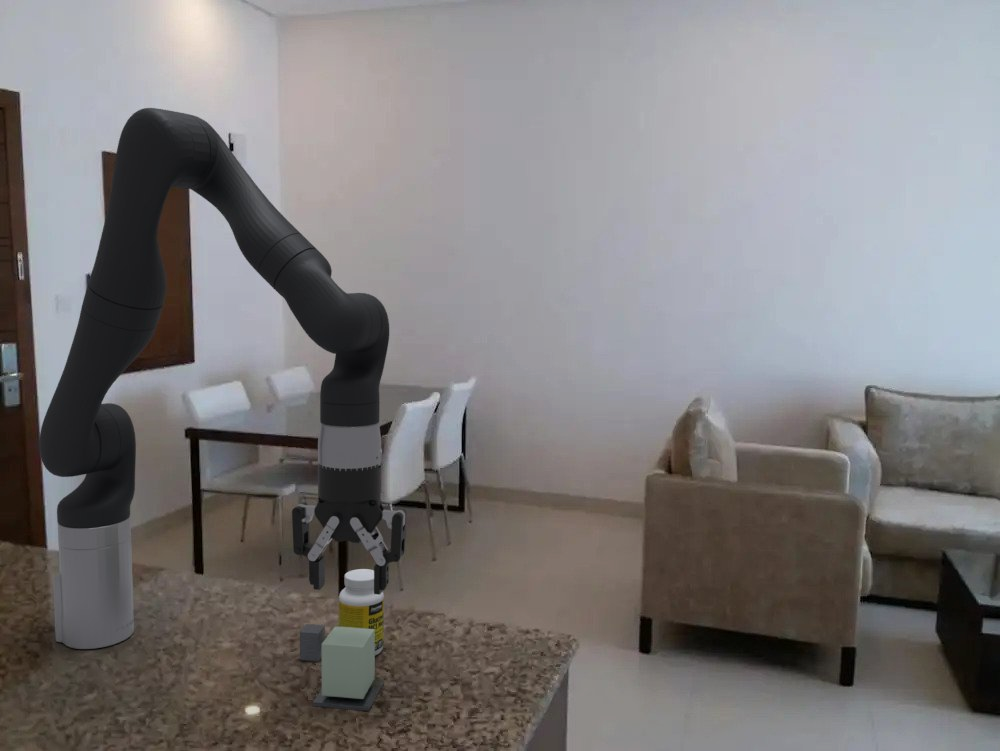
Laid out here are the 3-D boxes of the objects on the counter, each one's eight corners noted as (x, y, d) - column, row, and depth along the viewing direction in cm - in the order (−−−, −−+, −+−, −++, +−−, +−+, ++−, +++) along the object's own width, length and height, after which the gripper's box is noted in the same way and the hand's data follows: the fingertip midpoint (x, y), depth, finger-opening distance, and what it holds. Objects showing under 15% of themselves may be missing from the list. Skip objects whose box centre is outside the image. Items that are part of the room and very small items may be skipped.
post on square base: (312, 705, 101) (312, 651, 100) (331, 678, 108) (331, 627, 107) (368, 710, 100) (368, 655, 99) (383, 682, 107) (384, 631, 106)
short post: (299, 660, 113) (299, 632, 112) (306, 651, 115) (306, 624, 115) (318, 661, 113) (318, 633, 112) (324, 653, 115) (324, 625, 115)
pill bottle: (374, 663, 113) (375, 584, 111) (331, 657, 114) (331, 580, 113) (389, 643, 119) (390, 568, 117) (348, 638, 120) (348, 564, 119)
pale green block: (321, 695, 102) (321, 644, 101) (335, 675, 107) (335, 626, 106) (363, 699, 101) (363, 647, 100) (374, 678, 106) (374, 629, 105)
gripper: (280, 462, 98) (281, 597, 100) (400, 469, 96) (398, 606, 98) (303, 449, 105) (303, 575, 107) (414, 455, 103) (412, 583, 105)
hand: (349, 589), depth 103 cm, fingers open, 7 cm apart
